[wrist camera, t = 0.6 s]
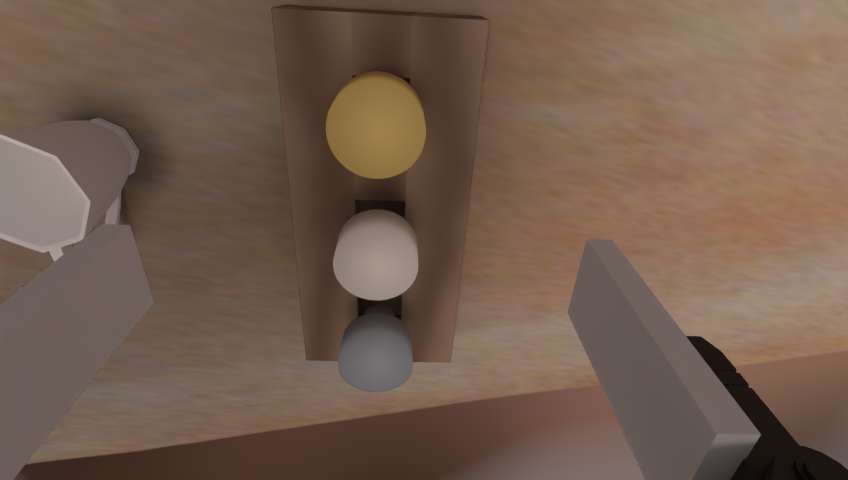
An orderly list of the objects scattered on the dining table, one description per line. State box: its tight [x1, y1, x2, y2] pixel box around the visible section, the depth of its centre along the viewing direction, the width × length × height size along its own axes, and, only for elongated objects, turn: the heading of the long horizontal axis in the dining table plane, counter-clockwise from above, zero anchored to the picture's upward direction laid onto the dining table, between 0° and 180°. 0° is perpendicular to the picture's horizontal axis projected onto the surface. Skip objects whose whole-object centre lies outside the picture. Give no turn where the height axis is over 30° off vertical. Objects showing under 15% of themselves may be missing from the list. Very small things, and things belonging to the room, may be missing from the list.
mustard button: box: [326, 71, 426, 179], centre depth 25 cm, size 5×5×5 cm
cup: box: [0, 117, 140, 262], centre depth 29 cm, size 7×10×8 cm
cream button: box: [333, 209, 418, 300], centre depth 29 cm, size 5×5×5 cm
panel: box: [271, 5, 489, 362], centre depth 33 cm, size 12×26×3 cm, turn 177°
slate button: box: [338, 304, 413, 392], centre depth 33 cm, size 5×5×5 cm
